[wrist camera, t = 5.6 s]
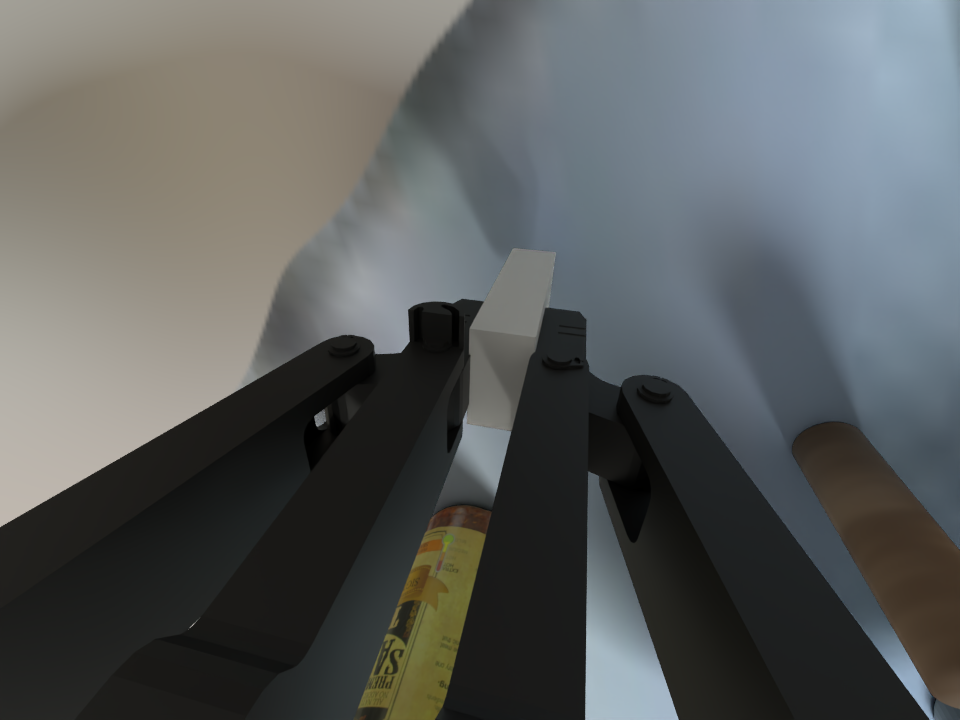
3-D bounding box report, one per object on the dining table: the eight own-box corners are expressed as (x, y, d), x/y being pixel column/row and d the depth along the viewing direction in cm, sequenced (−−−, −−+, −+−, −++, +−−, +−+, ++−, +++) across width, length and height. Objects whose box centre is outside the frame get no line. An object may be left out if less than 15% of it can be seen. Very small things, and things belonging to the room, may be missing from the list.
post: (878, 428, 18) (1097, 674, 10) (847, 474, 19) (1021, 723, 11) (806, 417, 18) (965, 646, 10) (782, 463, 19) (906, 696, 12)
